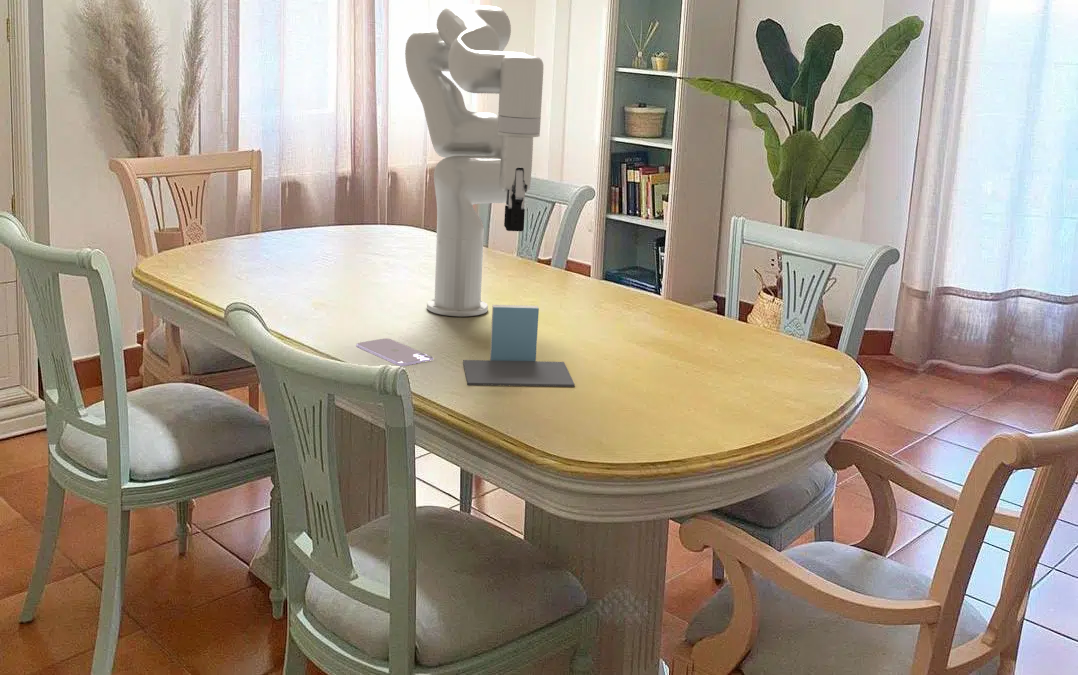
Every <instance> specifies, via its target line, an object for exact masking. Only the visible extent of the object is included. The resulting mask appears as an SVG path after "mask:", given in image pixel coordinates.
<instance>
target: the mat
mask: <svg viewBox="0 0 1078 675" xmlns="http://www.w3.org/2000/svg"><path fill="white" fill-rule="evenodd" d="M462 364H463V369H464V375H465V379H466V384H467V386H498V385H501V386H503V385H504V386H505V387H507V386H509V385H510V387H511V386H512V387H514V386H516V387H517V386H518V387H557V388H558V387H565V388H566V387H567V388H569V387H571V388H572V387H573V388H574V387H575V382H574V380H573V378H572V376H571V374H570V372H569V370H568V368H567V365H566V364H565V361H545V360H544V361H543V360H542V361H540V360H539V361H537V360H536V361H495V360H490V359H489V360H487V359H486V360H485V359H484V360H483V359H463V360H462Z"/></svg>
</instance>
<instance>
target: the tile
mask: <svg viewBox="0 0 1078 675" xmlns="http://www.w3.org/2000/svg"><path fill="white" fill-rule="evenodd" d="M491 311H492V312H491V330H490V331H491V332H490V349H489V350H490V351H489V360H495V361H537V346H538V328H539V327H538V326H539V311H540V308H539V306H538V305H523V304H520V305H518V304H492V310H491Z"/></svg>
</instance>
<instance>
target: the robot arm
mask: <svg viewBox="0 0 1078 675" xmlns="http://www.w3.org/2000/svg"><path fill="white" fill-rule="evenodd" d="M511 33H512V25H511V21H510V17H509V16H508V15H507V13H506V11H505V10H503V9H502V8H501V7H498V6H493V5H479V4H463V3H460V4H457V3H456V4H452V5H449V6H446V7H445V8H444V9H442V10H441V12H440V13H439V15H438V17H437V19H436V28H426V29H420V30H417V31H415V32H413V33H412V34H410V35H409V36H408V39H407V41H406V43H405V52H404V57H405V66H406V71H407V74H408V78H409V80H410V83H411V85H412V87H413V89H414V90H415V92H416V94H417V96H418V98H419V100H420V102H421V104H422V108H423V112H424V117H425V121H426V125H427V128H428V129H427V130H428V133H429V137H430V141H431V144H432V147H433V149H434V151H435V153H436V154H437V155H438V156H440V157H441V158H442V159H441V160H440V161H439V162H438V163H436V165H435V167H434V171H433V184H434V193H435V199H436V200H435V202H436V217H437V218H436V244H435V246H436V247H435V251H436V253H435V278H434V280H435V281H434V298H432V299H430V300H428V301H427V302H426V309H427V310H428V312H431V313H434V314H437V315H442V316H447V317H474V316H479V315H480V316H481V315H483V314H485V313H487V312H488V310H489V309H488V308H489V305H488V303H486V302H485V301H483V300H482V299H481V298H482V277H483V257H484V254H483V253H484V237H485V236H484V234H485V232H484V231H485V230H484V224H483V221H482V219H481V217H480V215H479V214H478V213H477V211H476V210H475V208H474V205H478V204H505V205H504V220H503V223H504V224H503V227H504V228H505V230H506V231H508V232H524V226H525V213H526V209H525V199H526V198H525V195H526V194H527V193H528V192H530V189H531V183H532V182H531V180H532V168H533V154H534V153H533V151H534V138H539V137H540V136H541V119H542V118H541V117H542V105H543V104H542V102H543V101H542V100H543V85H544V84H543V83H544V82H543V80H544V62H543V60H542V59H541V57H538V56H535V55H530V54H528V53H525V52H521V51H518V52H517V51H504V50H505V48H506V47H507V46H508V44H509V41H510V38H511ZM443 72H449V73H450V76H451V78H452V80H451V79H450V78H448V77H447V76H446V75H445V74H444V73H443ZM453 81H454V82H455V83H456V84H457V85H456V84H455V83H454V82H453ZM457 86H459V88H461V89H462V90H464V91H465V92H467V93H472V94H495V95H497V94H499V96H498V97H499V98H498V114H497V113H493V112H484V111H483V112H481V111H480V112H479V111H470V110H468V109H467V106H466V104H465V101H464V100H465V99H464V96H463V94H462V93H461V90H460V89H459V88H458V87H457Z"/></svg>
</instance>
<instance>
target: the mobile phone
mask: <svg viewBox="0 0 1078 675" xmlns="http://www.w3.org/2000/svg"><path fill="white" fill-rule="evenodd" d="M355 346H356V348H358V349H360V350H363V351H366V352H367V353H369V354H372V355H375V357H379V358H381V359H382V360H385V361H388V362H390V363H392V364H394V365H396V366H401V367H405V366H412V364H413V365H417V364H416V363H418V364H422V363H421V362H424V363H426V362H425V361H429V362H431V361H430V360H433V359H434V357H433V356H431V355H429V354H427V353H425V352H422V351H420V350H417V349H415V348H413V347H410V346H408V345H405V344H404V343H400V342H398V341H396V340H393V339H392V338H379V339H374V340H368V341H362V342H361V341H360V342H357V343H356V344H355ZM433 361H434V360H433Z"/></svg>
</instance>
